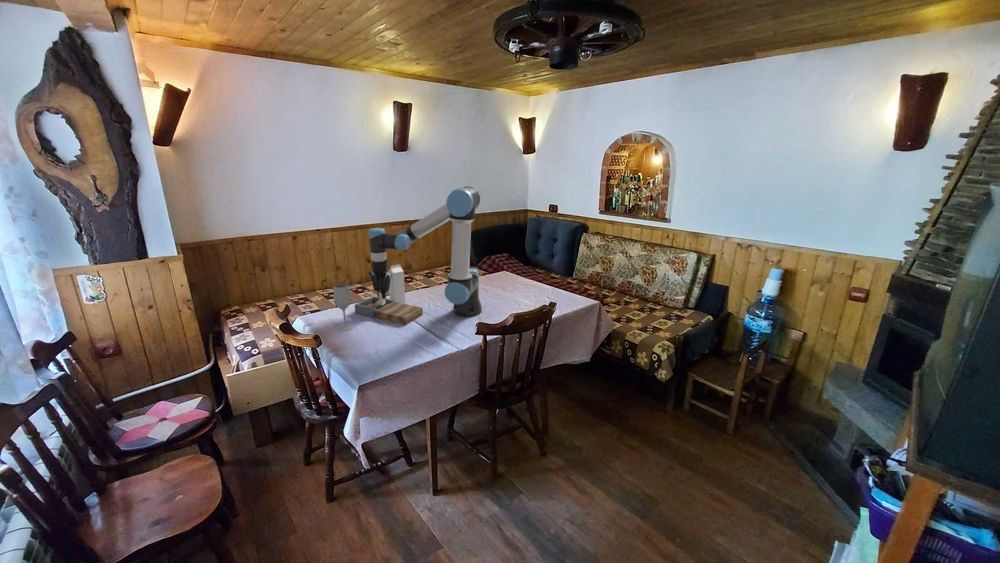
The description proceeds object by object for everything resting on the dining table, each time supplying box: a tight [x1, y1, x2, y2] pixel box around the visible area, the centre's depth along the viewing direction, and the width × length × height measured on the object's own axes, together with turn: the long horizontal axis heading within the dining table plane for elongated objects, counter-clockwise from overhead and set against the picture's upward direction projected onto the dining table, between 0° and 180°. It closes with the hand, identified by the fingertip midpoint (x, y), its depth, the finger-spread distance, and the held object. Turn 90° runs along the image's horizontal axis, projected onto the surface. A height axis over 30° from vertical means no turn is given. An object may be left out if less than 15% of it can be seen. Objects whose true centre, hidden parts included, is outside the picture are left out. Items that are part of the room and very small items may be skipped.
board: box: [375, 302, 424, 326], centre depth 198 cm, size 18×14×4 cm
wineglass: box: [332, 283, 355, 332], centre depth 182 cm, size 8×8×21 cm
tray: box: [354, 295, 393, 319], centre depth 204 cm, size 13×14×5 cm
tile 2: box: [371, 301, 381, 308], centre depth 202 cm, size 5×5×2 cm
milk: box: [387, 264, 406, 304], centre depth 212 cm, size 6×6×22 cm
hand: (382, 304), depth 201 cm, fingers closed
